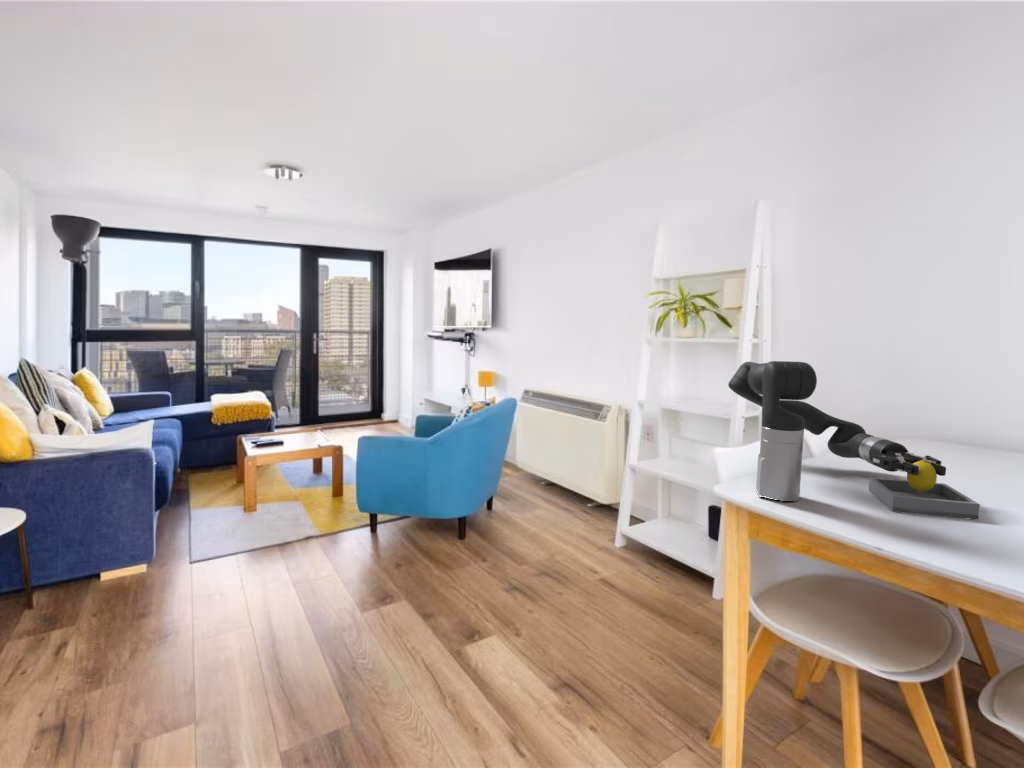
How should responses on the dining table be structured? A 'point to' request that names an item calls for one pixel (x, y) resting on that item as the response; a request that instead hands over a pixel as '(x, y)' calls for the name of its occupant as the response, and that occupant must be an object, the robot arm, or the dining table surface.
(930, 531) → the dining table surface
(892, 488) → the tray
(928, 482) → the lemon
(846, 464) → the dining table surface
